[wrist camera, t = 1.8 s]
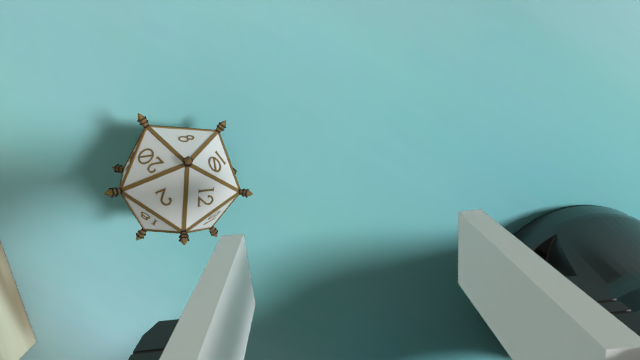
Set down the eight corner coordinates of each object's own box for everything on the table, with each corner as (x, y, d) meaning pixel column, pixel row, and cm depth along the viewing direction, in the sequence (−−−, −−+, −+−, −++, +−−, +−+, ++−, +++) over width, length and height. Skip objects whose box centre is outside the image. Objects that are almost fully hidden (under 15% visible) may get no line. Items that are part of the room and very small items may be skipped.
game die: (186, 161, 33) (55, 178, 25) (233, 88, 29) (92, 80, 20) (240, 247, 31) (115, 296, 23) (300, 182, 26) (170, 215, 18)
